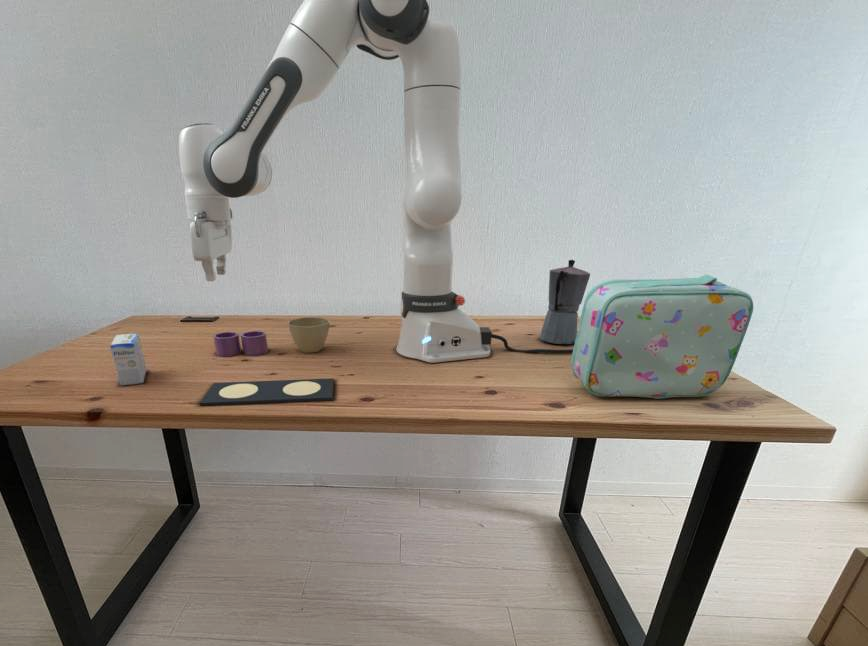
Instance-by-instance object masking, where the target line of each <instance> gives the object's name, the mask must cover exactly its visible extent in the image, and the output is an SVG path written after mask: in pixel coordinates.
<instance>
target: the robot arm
mask: <svg viewBox="0 0 868 646" xmlns="http://www.w3.org/2000/svg"><path fill="white" fill-rule="evenodd" d="M429 15H430V5H429V3H428V1H427V0H303V1H302V3H301V4H300V5H299V7H298V9H297V10H296V12H295V14H294V15H293V17H292V19H291V21H290V22H289V24H288V26H287V29H286V30H285V32H284V34H283V35H282V38H281V40H280V42H279V44H278V46H277V48H276V50H275V52H274V54H273V56H272V58H271V60H270V62H269V64H268V66H267V68H266V70H265V71H264V73H263V75H262V77H260V80H259V81H258V83H257V84H256V86H255V88H254V89H253V91H252V92H251V94H250V96H249V97H248V99H247V100H246V102H245V104H244V105H243V107H242V109H241V110H240V112H239V114H238V115H237V117H236V118H235V120H234V122H233V123H232V125H231V126H230V127H229V128H228V129H227V130H226V131H223V130H221V129H220V128H219V127H218V126H217V125H215V124H213V123H207V122H205V123H204V122H203V123H201V122H199V123H194V124H190V125H187V126H185V127H183V128H182V129H181V130H180V132H179V136H178V154H179V165H180V172H181V175H182V178H183V182H184V201H185V208H186V215H187V216H186V217H187V220H188V221H192V222H191V223H190V224H189V235H190V247H191V254H192V258H193V260H194V262H201V267H202V269H203V271H204V273H205V274H204V275H205V280H206V281H207V282H214V281H216V280H217V275H219V276H224V275H225V274H227V268H226V266H227V254H229V253H231V252H232V246H233V240H232V239H233V237H232V236H233V235H232V222H231V220H233V219H234V218H233V217H234V216H233V211H232V209H231V206H230V198H231V199H236V198H241V197H250V196H251V197H252V196H258V195H259V194H261V193H263V192H264V191H266V190H267V189H268V187H269V186H270V184H271V182H272V178H273V177H272V176H273V169H272V166H271V162H270V160H269V159H268V157H267V156H266V155H265V153H264V152H263V151H264V150H265V148H266V146H267V145H268V143H269V141H270V140H271V139H272V137H273V135H274V134H275V132H276V131H277V129H278V127H279V126H280V124H281V122H282V120H283V119H284V118H285V117H286V116H287V114H288V113H289V112H290V111H291V110H292V109H294V108H295V107H298V106H299V105H302V104H304V103H308V102H309V103H310V102H313V101H315V100H317V99H318V98H319V97H320V96H321V95H322V94H323V93H324V92H325V90H327V88H328V87H329V86H330V84H331V83H332V81H333V80H334V78H335V77H336V75H337V73H338V71H339V70H340V68H341V66H342V65H343V63H344V61H345V60H346V58H347V56H348V54H349V53H350V52H351V51H352V49H353V48H355V47H356V48H357V49H359V50H360V51H362V52H365V53H367V54H369V55H371V56H373V57H375V58H378V59H380V60H385V61H392V60H396V59H398V58H399V59H400V61H401V64H402V69H403V142H404V158H405V181H406V182H405V187H404V190H403V193H402V197H401V199H402V200H401V208H402V209H401V213H402V214H401V216H402V247H403V248H402V249H403V290H402V292H401V297H400V314H401V317H402V318H401V326H400V333H399V336H398V337H399V338H398V341H397V346H396V349H395V350H396V353H397V354H399V355H401V356H403V357H406V358H409V359H415V360H420V361H423V362H426V363H432V364H434V363H443V362H444V363H445V362H454V361H462V360H472V359H482V358H483V359H484V358H489V357H490V356H491V347H490V346H491V345H492V339H496V340H499V341H501V342H503V345H504V346H503V347H504V349H506V350H507V351H509V352H514V353H522V354H523V353H524V354H538V353H539V354H573V349H574V348H572V349H571V348H570V349H569V348H567V349H549V348H534V349H515V348H513V347H511V346H510V345H509V343H508V340H507V339H506V338H505V337H503V336H501V335H498V334H494V333H493V331H492V330H491V328H490V327H489V326H479V324H478V323H477V322H476V321H475V320H474V319H473V318H472V317H470V316H469V315H468V314H466V313H465V312H464V311H463V310H462V309H461V308H459V307H461V306H464V304H465V303H466V298H465V297H464V296H462V295H461V294H460V295H458V293H456V292H454V291H452V287H453V286H452V285H453V266H454V265H453V264H454V252H453V239H452V222H453V221H454V219H455V218H456V217H457V215H458V213H459V211H460V209H461V205H462V199H463V197H462V172H461V171H462V170H461V169H462V168H461V153H460V152H461V151H460V114H461V113H460V112H461V88H462V87H461V86H462V85H461V84H462V77H461V74H462V73H461V55H460V46H459V38H458V33H457V30H456V28H455V27H454V26H453V25H452V24H451V23H450V22H448V21H446V20H445V19H444V20H443V19H440V18H430V17H429ZM215 259H216V266H215V267H216V268H214V260H215ZM215 269H216V272H215ZM489 345H490V346H489Z"/></svg>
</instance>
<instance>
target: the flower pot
mask: <svg viewBox="0 0 868 646" xmlns="http://www.w3.org/2000/svg"><path fill="white" fill-rule="evenodd" d="M330 322H331V321H330V319H328V318H324V317H317V316H306V317H304V316H303V317H297V318H293V319H290V320H289V321H287V326H288V330H289V333H290V335H291V338H292V341H293V342H294V344H295V345H296V347H297V348H298V350H299V351H300V352H301V353H306V354H314V353H318V352H320V351H321V350H322V349H323V347H324V346H325V343H326V340H327V339H328V334H329V330H330Z"/></svg>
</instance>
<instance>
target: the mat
mask: <svg viewBox="0 0 868 646" xmlns="http://www.w3.org/2000/svg"><path fill="white" fill-rule="evenodd" d="M334 379H335V378H331V377H329V378H308V379H307V378H305V379H281V380H278V379H277V380H255V381H254V380H253V381H230V382H229V381H228V382H213V383H212V384H211V386H210V388H208V390H207V391H206V393H205V395H204V396H203V397H202V399H201V400H200V401H199V406H201V407H203V406H205V407H207V406H226V405H227V406H229V405H253V404H277V403H297V402H298V403H300V402H322V401H323V402H324V401H325V402H326V401H333V400H334V384H335V383H334V381H335V380H334Z"/></svg>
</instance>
